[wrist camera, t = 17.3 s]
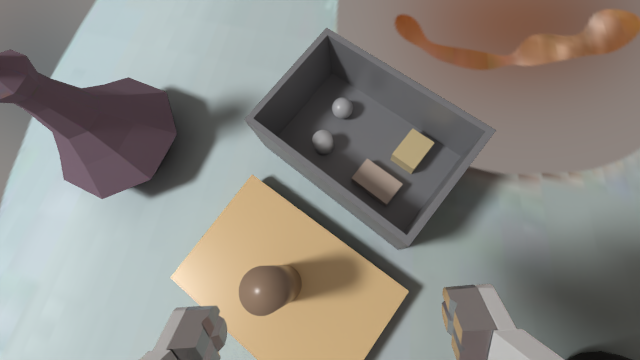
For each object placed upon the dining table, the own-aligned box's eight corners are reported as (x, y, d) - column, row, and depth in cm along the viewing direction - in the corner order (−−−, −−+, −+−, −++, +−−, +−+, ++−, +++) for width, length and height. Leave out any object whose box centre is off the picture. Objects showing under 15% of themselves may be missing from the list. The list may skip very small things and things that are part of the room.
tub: (332, 70, 42) (326, 27, 35) (467, 157, 37) (496, 130, 29) (265, 146, 41) (244, 119, 33) (397, 249, 35) (408, 246, 28)
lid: (259, 180, 40) (224, 151, 30) (405, 289, 34) (425, 300, 24) (183, 276, 38) (117, 281, 28) (325, 408, 32) (310, 476, 22)
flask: (98, 96, 46) (-88, -23, 27) (202, 92, 44) (82, -39, 25) (72, 204, 42) (-170, 156, 23) (186, 206, 40) (25, 154, 21)
